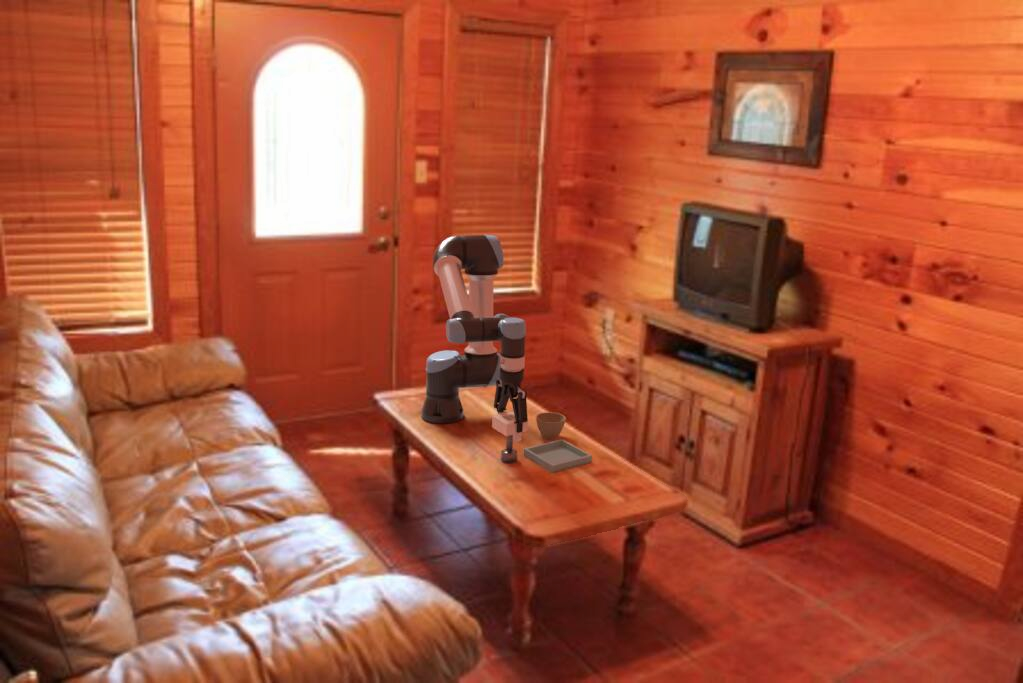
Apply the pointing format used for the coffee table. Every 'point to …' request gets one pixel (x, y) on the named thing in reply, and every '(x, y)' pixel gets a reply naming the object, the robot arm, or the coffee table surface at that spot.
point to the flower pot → (550, 424)
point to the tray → (557, 455)
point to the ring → (506, 423)
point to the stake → (509, 452)
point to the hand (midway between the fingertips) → (509, 436)
